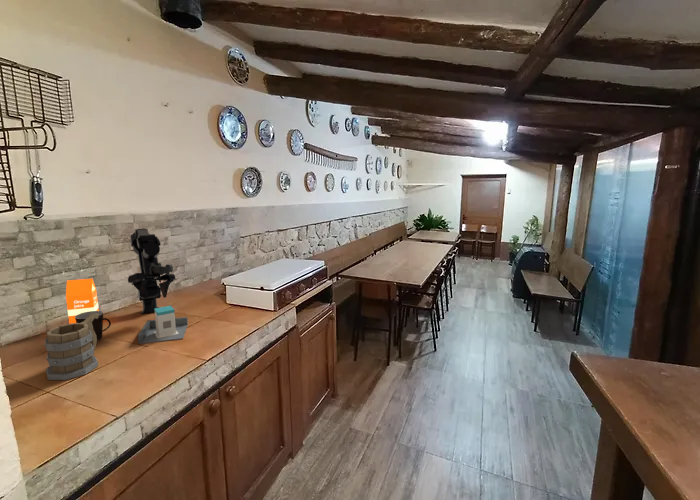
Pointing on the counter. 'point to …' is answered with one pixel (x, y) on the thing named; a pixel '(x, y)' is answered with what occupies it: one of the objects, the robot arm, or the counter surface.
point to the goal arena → (150, 335)
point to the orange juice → (80, 297)
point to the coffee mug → (94, 322)
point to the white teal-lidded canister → (165, 321)
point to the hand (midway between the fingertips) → (155, 297)
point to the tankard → (71, 349)
